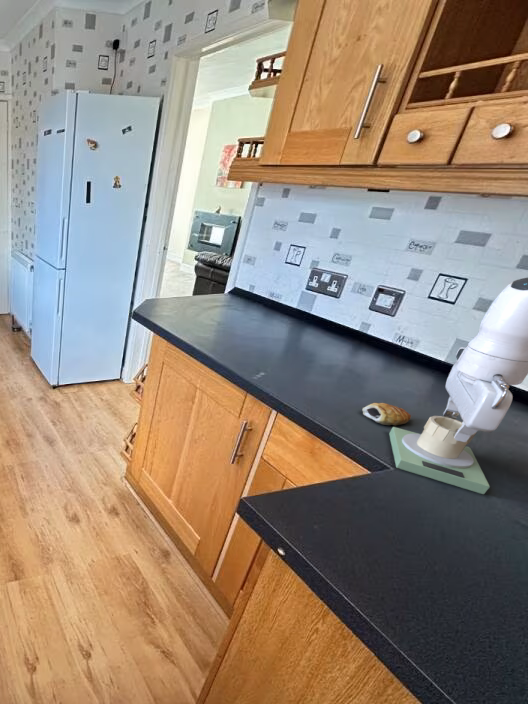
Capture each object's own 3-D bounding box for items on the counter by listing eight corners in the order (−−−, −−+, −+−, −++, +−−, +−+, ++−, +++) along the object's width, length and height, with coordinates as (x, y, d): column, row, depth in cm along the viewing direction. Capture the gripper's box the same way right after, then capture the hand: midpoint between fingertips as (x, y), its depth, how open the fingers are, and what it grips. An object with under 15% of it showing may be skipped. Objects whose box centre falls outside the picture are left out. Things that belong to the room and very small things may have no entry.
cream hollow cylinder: (455, 446, 87) (471, 423, 84) (462, 463, 82) (480, 438, 79) (413, 435, 90) (427, 412, 87) (418, 450, 85) (433, 426, 82)
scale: (465, 454, 89) (471, 445, 87) (483, 494, 78) (492, 484, 76) (388, 433, 95) (394, 424, 94) (396, 467, 84) (402, 457, 83)
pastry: (392, 411, 104) (399, 398, 102) (417, 426, 98) (425, 413, 96) (357, 412, 103) (364, 399, 101) (380, 427, 97) (388, 414, 95)
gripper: (537, 393, 67) (489, 460, 74) (499, 352, 82) (463, 411, 89) (484, 382, 70) (443, 448, 77) (457, 345, 85) (424, 402, 92)
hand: (453, 428), depth 83 cm, fingers open, 8 cm apart
